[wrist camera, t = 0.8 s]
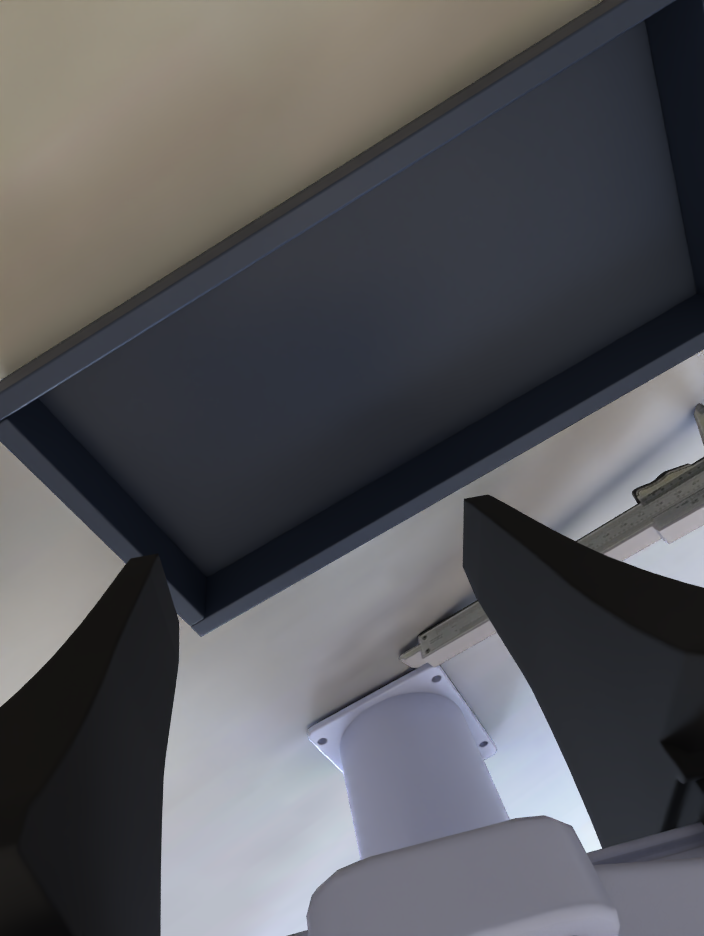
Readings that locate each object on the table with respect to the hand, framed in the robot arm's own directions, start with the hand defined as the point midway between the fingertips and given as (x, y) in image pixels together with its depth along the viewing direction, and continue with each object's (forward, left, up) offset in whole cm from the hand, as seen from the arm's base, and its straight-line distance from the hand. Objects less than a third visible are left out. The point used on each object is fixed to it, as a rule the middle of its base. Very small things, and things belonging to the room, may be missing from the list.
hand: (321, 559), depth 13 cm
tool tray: (0, -5, -10) cm, 11 cm away
